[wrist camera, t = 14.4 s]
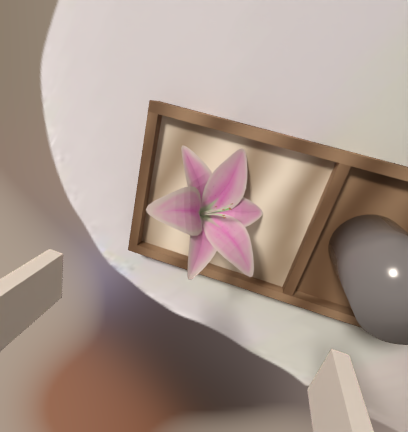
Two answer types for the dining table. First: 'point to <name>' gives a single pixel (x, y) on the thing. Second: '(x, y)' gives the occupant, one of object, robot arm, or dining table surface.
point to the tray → (267, 203)
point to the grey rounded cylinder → (374, 274)
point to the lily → (211, 212)
